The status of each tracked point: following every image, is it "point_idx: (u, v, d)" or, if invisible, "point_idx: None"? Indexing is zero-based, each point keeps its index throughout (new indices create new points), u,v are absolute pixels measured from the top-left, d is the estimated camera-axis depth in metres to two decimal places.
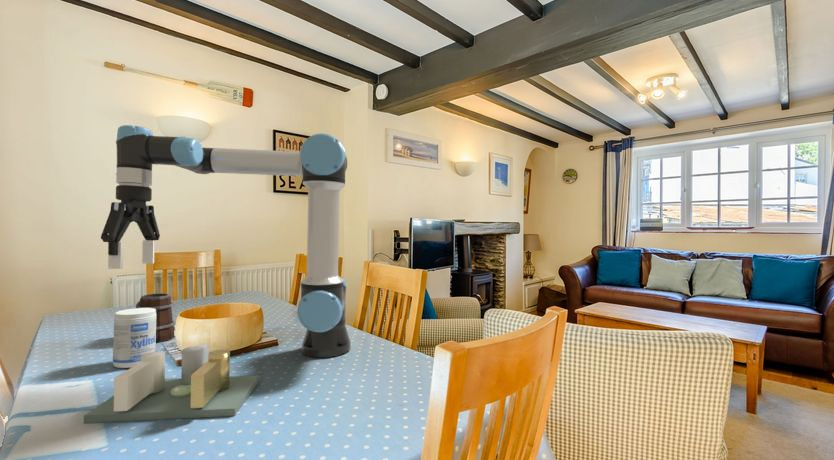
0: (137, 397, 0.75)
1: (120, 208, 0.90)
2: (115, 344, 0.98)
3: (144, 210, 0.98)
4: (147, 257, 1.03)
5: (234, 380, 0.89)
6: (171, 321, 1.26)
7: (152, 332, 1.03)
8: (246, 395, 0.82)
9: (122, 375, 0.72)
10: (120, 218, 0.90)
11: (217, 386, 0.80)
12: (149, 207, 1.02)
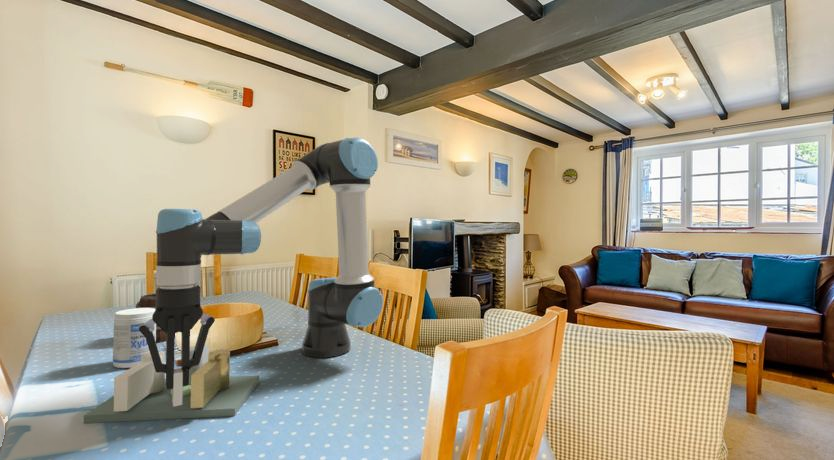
0: (137, 397, 0.75)
1: (143, 334, 0.69)
2: (115, 344, 0.98)
3: (186, 318, 0.72)
4: None
5: (234, 380, 0.89)
6: None
7: None
8: (246, 395, 0.82)
9: (122, 375, 0.72)
10: (152, 344, 0.70)
11: (217, 386, 0.80)
12: (208, 318, 0.76)
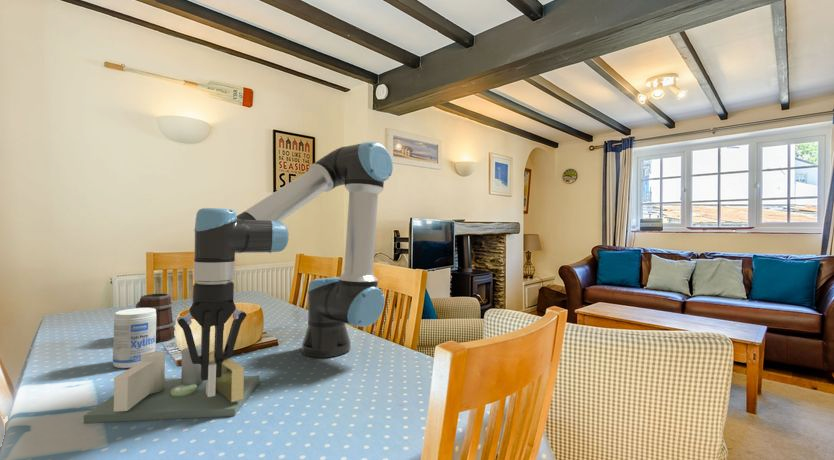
0: (137, 397, 0.75)
1: (181, 327, 0.73)
2: (115, 344, 0.98)
3: (221, 312, 0.76)
4: None
5: None
6: (171, 321, 1.26)
7: (152, 332, 1.03)
8: (246, 395, 0.82)
9: (122, 375, 0.72)
10: (189, 337, 0.73)
11: None
12: (241, 313, 0.79)
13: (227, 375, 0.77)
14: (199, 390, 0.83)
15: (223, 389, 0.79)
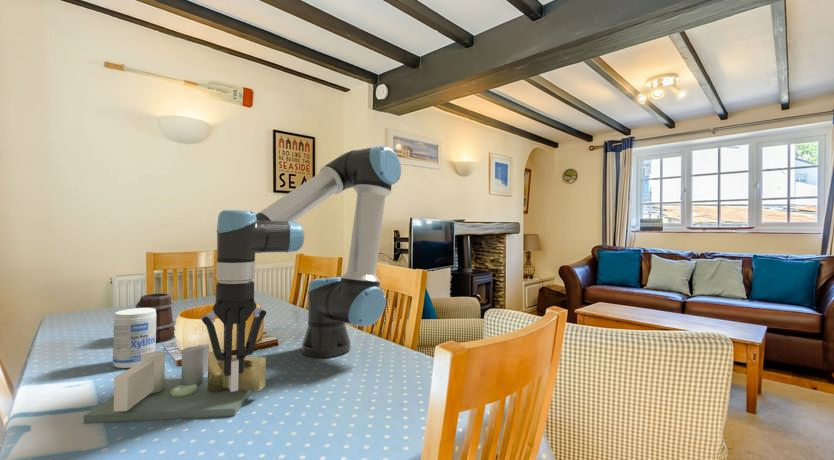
0: (137, 397, 0.75)
1: (206, 325, 0.75)
2: (115, 344, 0.98)
3: (242, 311, 0.79)
4: None
5: None
6: (171, 321, 1.26)
7: (152, 332, 1.03)
8: (246, 395, 0.82)
9: (122, 375, 0.72)
10: (213, 334, 0.76)
11: None
12: (261, 311, 0.82)
13: (249, 368, 0.82)
14: (199, 390, 0.83)
15: (239, 383, 0.82)
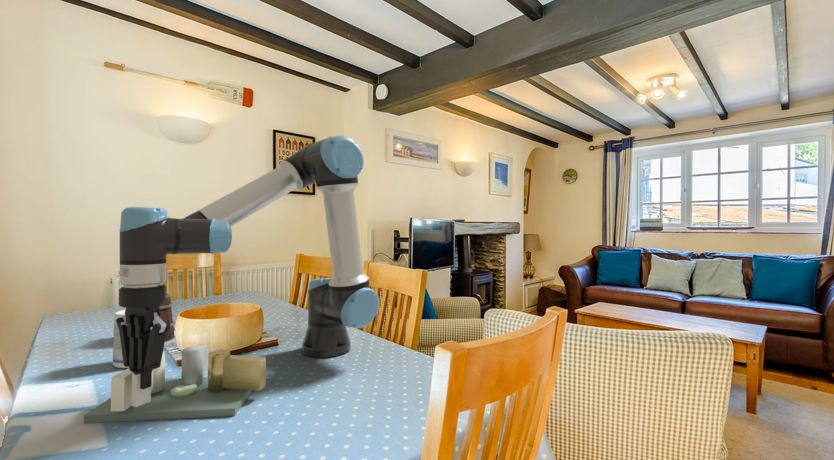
0: None
1: (166, 330, 0.71)
2: (115, 344, 0.98)
3: None
4: None
5: None
6: (171, 321, 1.26)
7: None
8: (246, 395, 0.82)
9: (120, 375, 0.72)
10: None
11: None
12: None
13: (249, 367, 0.82)
14: (199, 390, 0.83)
15: (240, 383, 0.82)
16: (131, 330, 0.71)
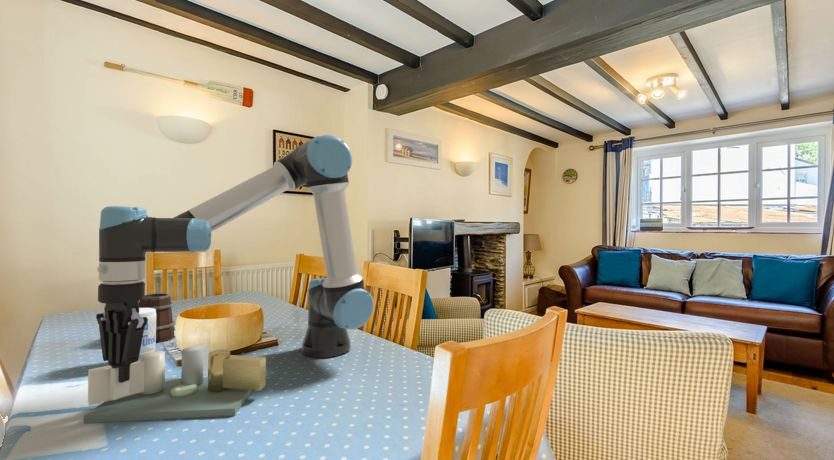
0: None
1: (144, 325, 0.74)
2: None
3: None
4: None
5: None
6: (171, 321, 1.26)
7: (152, 332, 1.03)
8: (246, 395, 0.82)
9: (95, 369, 0.75)
10: None
11: None
12: None
13: (249, 367, 0.82)
14: (199, 390, 0.83)
15: (240, 383, 0.82)
16: (110, 326, 0.74)
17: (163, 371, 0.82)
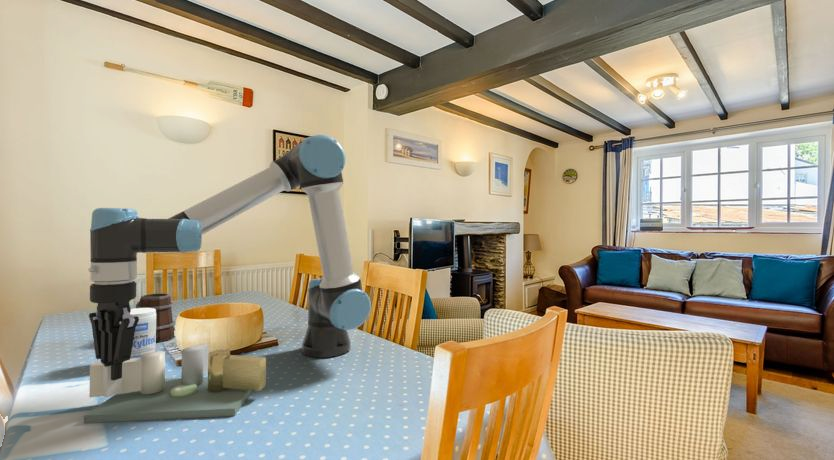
0: None
1: (135, 325, 0.75)
2: None
3: None
4: None
5: None
6: (171, 321, 1.26)
7: (152, 332, 1.03)
8: (246, 395, 0.82)
9: (99, 363, 0.79)
10: None
11: None
12: None
13: (249, 367, 0.82)
14: (199, 390, 0.83)
15: (240, 383, 0.82)
16: (102, 325, 0.75)
17: (160, 373, 0.82)
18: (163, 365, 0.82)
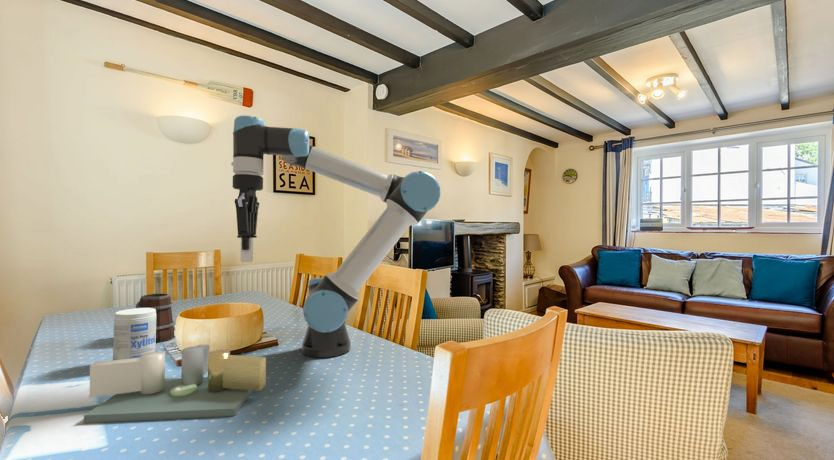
0: (109, 389, 0.78)
1: (244, 205, 0.93)
2: (115, 344, 0.98)
3: (256, 199, 1.00)
4: None
5: None
6: (171, 321, 1.26)
7: (152, 332, 1.03)
8: (246, 395, 0.82)
9: (99, 363, 0.79)
10: (247, 214, 0.95)
11: None
12: None
13: (249, 367, 0.82)
14: (199, 390, 0.83)
15: (240, 383, 0.82)
16: None
17: (160, 373, 0.81)
18: (163, 365, 0.82)
